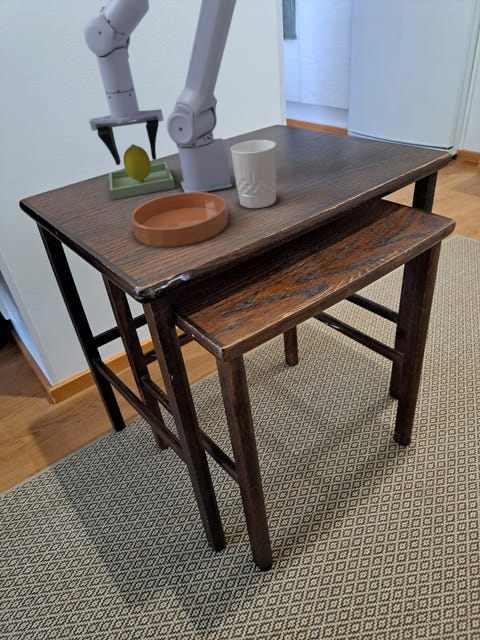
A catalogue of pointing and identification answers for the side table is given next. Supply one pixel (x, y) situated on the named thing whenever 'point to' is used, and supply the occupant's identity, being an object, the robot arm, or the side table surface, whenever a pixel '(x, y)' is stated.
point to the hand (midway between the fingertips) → (136, 161)
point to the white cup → (255, 172)
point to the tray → (128, 186)
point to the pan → (179, 219)
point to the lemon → (137, 163)
